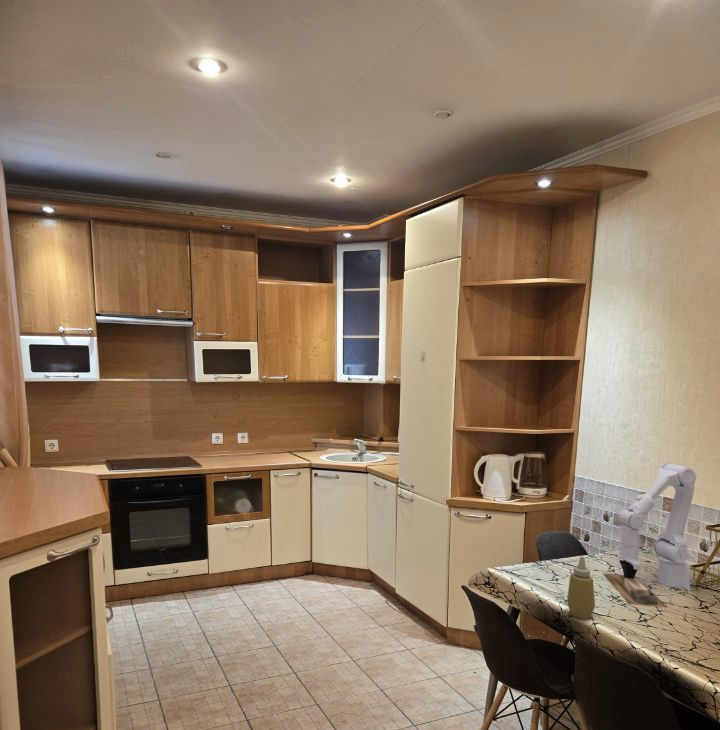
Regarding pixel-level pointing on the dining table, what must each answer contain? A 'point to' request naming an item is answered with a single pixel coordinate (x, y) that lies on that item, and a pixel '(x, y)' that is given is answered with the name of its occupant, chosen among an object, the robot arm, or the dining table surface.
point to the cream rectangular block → (635, 586)
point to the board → (633, 597)
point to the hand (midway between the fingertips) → (628, 582)
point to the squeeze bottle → (581, 592)
